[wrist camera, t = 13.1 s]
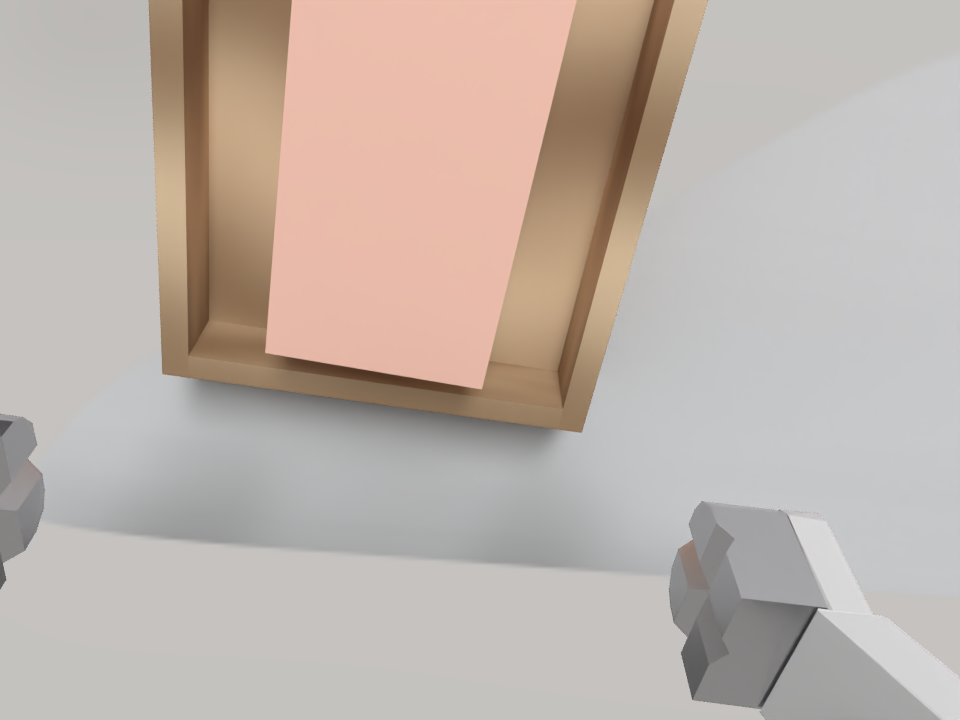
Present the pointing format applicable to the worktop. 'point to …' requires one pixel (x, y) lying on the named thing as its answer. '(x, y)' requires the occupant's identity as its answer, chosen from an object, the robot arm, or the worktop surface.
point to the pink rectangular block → (407, 178)
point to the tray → (542, 241)
